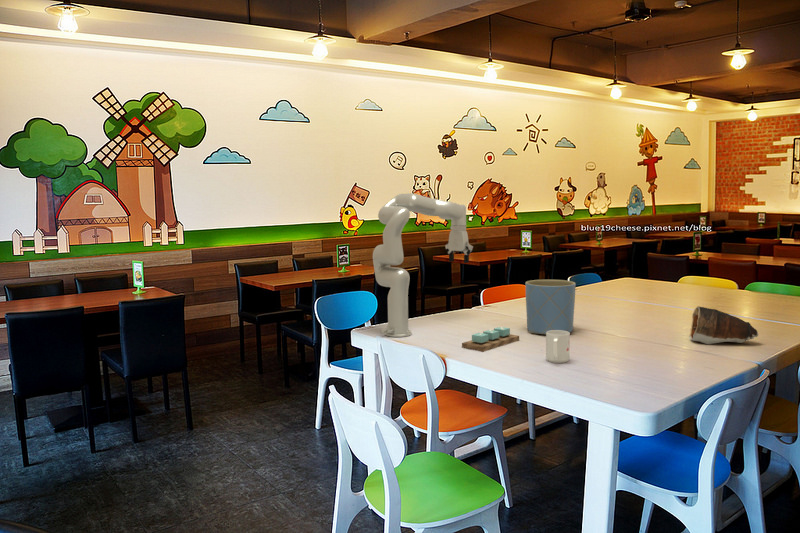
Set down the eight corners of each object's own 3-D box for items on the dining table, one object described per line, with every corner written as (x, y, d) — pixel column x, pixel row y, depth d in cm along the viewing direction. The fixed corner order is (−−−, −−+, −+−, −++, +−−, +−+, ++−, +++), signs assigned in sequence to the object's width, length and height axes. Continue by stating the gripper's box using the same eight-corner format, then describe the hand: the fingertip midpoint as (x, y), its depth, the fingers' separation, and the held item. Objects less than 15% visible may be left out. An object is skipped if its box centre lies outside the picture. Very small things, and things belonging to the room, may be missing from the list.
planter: (534, 325, 299) (534, 278, 297) (580, 329, 288) (581, 280, 285) (518, 334, 280) (518, 284, 277) (567, 339, 268) (567, 287, 266)
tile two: (492, 339, 259) (492, 332, 258) (483, 337, 262) (483, 331, 262) (499, 337, 262) (499, 330, 262) (489, 335, 266) (489, 329, 265)
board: (482, 351, 249) (482, 347, 249) (461, 347, 257) (461, 343, 256) (519, 340, 268) (519, 335, 268) (498, 336, 276) (498, 332, 276)
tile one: (481, 343, 253) (481, 336, 253) (471, 341, 256) (471, 334, 256) (488, 340, 256) (488, 334, 256) (478, 339, 260) (478, 332, 260)
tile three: (503, 336, 264) (503, 329, 264) (493, 334, 268) (493, 328, 267) (509, 334, 268) (509, 327, 267) (500, 332, 271) (500, 326, 271)
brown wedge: (767, 319, 245) (700, 306, 252) (758, 356, 246) (692, 341, 253) (756, 317, 259) (694, 304, 267) (748, 352, 260) (686, 338, 267)
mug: (547, 356, 240) (547, 329, 238) (570, 358, 236) (571, 330, 235) (542, 364, 229) (543, 335, 227) (566, 366, 225) (567, 337, 224)
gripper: (441, 228, 311) (441, 261, 313) (467, 229, 300) (467, 263, 301) (450, 228, 317) (450, 260, 319) (476, 228, 305) (476, 262, 307)
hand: (458, 262), depth 310 cm, fingers open, 9 cm apart
